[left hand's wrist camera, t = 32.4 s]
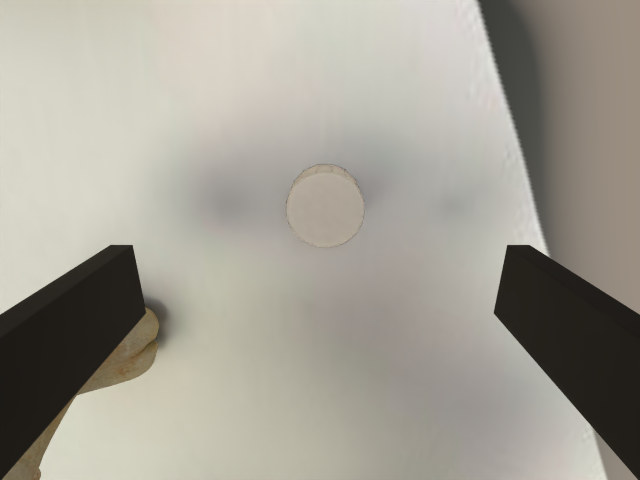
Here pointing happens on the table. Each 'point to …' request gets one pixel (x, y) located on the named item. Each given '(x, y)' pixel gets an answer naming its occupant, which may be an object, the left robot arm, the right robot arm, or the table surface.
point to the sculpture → (98, 387)
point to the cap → (325, 206)
